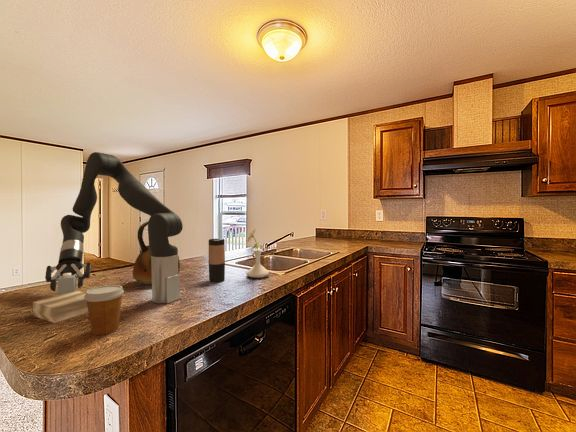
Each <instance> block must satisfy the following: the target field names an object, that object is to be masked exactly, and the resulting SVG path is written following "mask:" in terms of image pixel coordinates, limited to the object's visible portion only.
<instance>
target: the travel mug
mask: <svg viewBox="0 0 576 432" xmlns="http://www.w3.org/2000/svg"><path fill="white" fill-rule="evenodd" d="M225 245H226V244H225V239H224V238H222V239H219V238H210V239H208V276H209V277H208V278H209V279H208V280H209V283H216V284H217V283H222V282H224V281H225V277H226V275H225V274H226V273H225V272H226V271H225V270H226V263H225V262H226V256H225V255H226V252H225V251H226V247H225Z"/></svg>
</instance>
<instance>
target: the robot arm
mask: <svg viewBox="0 0 576 432" xmlns="http://www.w3.org/2000/svg"><path fill="white" fill-rule="evenodd" d="M98 176H106V177H111V178H112V179H113V180H114V181H116V182H117V184H118V185H117V190H118V194H119V196H120V197H121V198H122V199H123V201H125V202H126V203H127V204H128V205H129V206H130V207H132V208H133V209H135V210H137V211H139V212H141V213H143V214H146V215H148V216H149V218H148V220H147V221H148V225H147V234H148V235H147V237H148V245H149V248H150V250H151V263H152V264H151V265H152V284H151V301H152V303H155V304H170V303H172V302H175V301H177V300H180V299H181V274H180V273H179V274H178V256H179V255H178V254H179V249H178V246H176V245H172V244H170V240H169V237H171V238H172V237H176V236H177V235H179V234H181V233H182V231H183V221H182V219H181V217H180V216H179V215H178V214H177V213H175V212H174V211H173V210H172V209H170V208H169V207H167V206H166V205H165V204H164V203H162V202H161V201H160V199H158V198H157V197H156V196H155V195H154V194H153V193H151V191H150V190H149V189H148V188H147V187H146V186H145V185H144V184H143V183H142V182H141V181H140V180H139V179H137V178H136V176H134V175H133V174H132V173H131V172H130V171H129V169H128V168H127V167H126V166H125V165H124V164H123V162H122V161H121V160H120V159H119V158H118V157H117V156H115V155H112V154H107V153H104V152H96V151H94V152H92V153H91V154H89V156H88V158H87V160H86V163H85V167H84V172H83V176H82V180H81V184H80V185H81V186H80V188H79V193H78V195H77V197H76V199H75V202H74V204H73V205H72V206H73V207H72V212H73V213H74V214H76V215H73V214H66V215H64V216H63V217H62V218H61V220H60V228H61V232H62V237H63V238H62V243H61V247H60V250H59V256H58V263H57V265H54V266H51V265H47V266H46V270H45V277H44V278H45V281H46V282H47V283H50V285H49V288H50V290H51V291H52V292H55V291H56V290H57V285H58V278H59V277H60V276H63V274H64V273H71V275H76V278H77V288H78V289H81V287H83V286H84V280H85V279H89V278H90V275H91V269H92V266H91V262H90V261H89V262H86V263H83V256H84V243H85V242H84V241H85V236H84V234H85V233H86V232H88V231H89V230H90V228H91V216H92V213H93V210H94V208H95V207H96V204H97V201H98V193H97V190H96V187H95V186H96V185H95V182H96V181H95V180H97V177H98ZM168 240H169V241H168ZM81 269H84V270H85V271H84V272H85V273H82V272H81ZM55 271H56V272H55ZM54 272H55V273H54ZM53 273H54V275H52V274H53Z"/></svg>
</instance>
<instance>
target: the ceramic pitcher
mask: <svg viewBox="0 0 576 432" xmlns="http://www.w3.org/2000/svg"><path fill="white" fill-rule="evenodd" d="M148 221H149V220H147V221H146V222H143V223H142V224H141V225H140V226H139V228H138V230H137V240H138V241H137V242H138V244H139V246H140V253H139V255H137V258H136V260H135V261H134V264H133V267H132V278H133V280H135V281H136V282H138V283H140V284H145V285H152V265H151V264H152V263H151V250H150V248H149V244H148V245H146V244H145V241H144V239H143V237H144V236H143V234H144V230H145V229H146V226H147V227H148ZM168 241H169V242H170V240H169V239H168ZM180 271H181V263H180V256H179V255H178V274H179V275H180Z"/></svg>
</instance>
